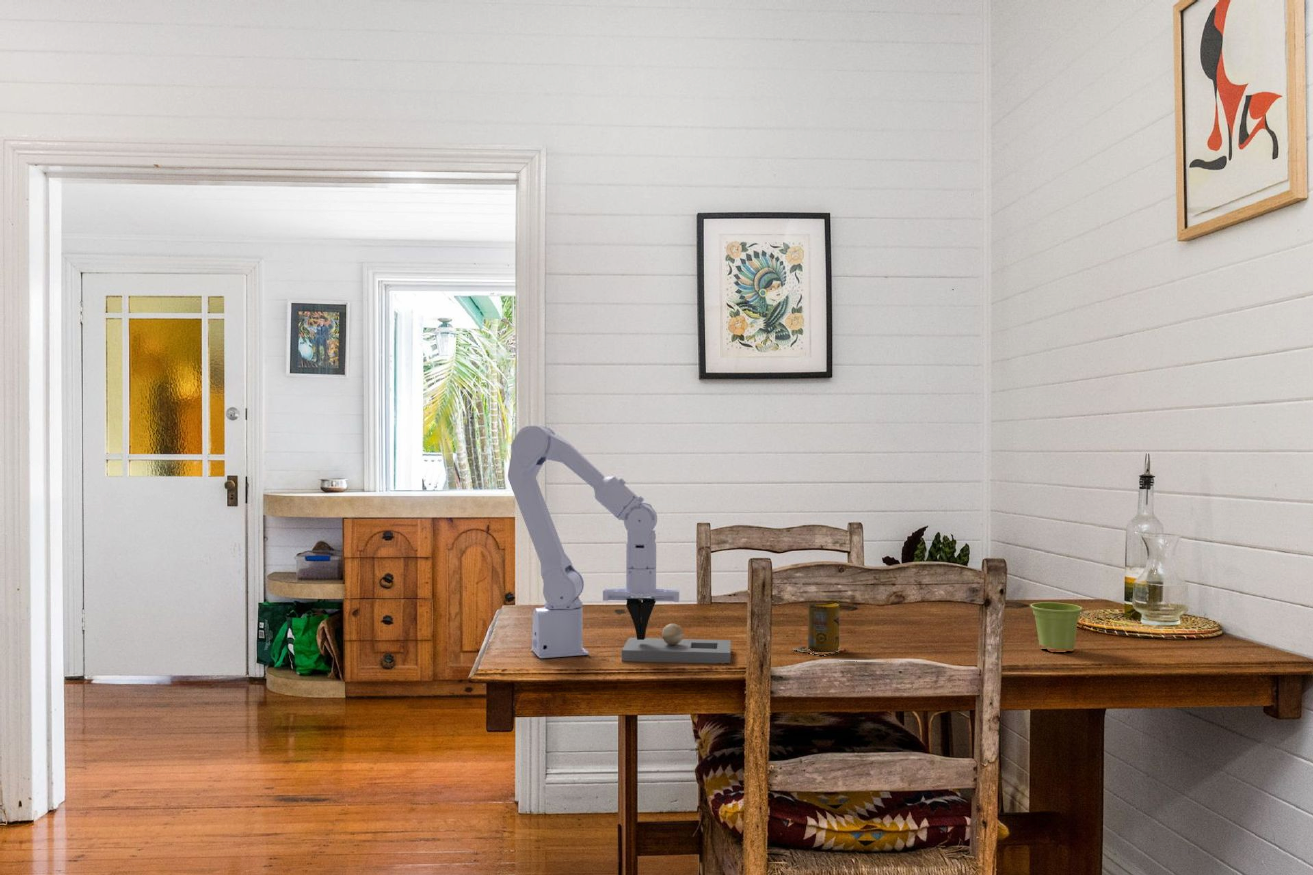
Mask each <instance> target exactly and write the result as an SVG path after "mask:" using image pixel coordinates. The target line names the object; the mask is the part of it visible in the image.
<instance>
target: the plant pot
mask: <svg viewBox="0 0 1313 875" xmlns="http://www.w3.org/2000/svg"><path fill="white" fill-rule="evenodd" d="M1029 606H1030V608H1031V609H1032V613H1033V616H1034V619H1035V625H1036V626H1035V627H1036V632H1037V638H1038V645H1042V646H1044V647H1050V648H1054V649H1073V648H1074V649H1075V642H1076V636H1077V629H1078V628H1077V627H1078V621H1079V618H1080V615H1081V612H1082V611H1083V607H1082V606H1080V605H1077V604H1071V603H1063V602H1051V601H1050V602H1046V601H1045V602H1034V603H1030V604H1029Z"/></svg>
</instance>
